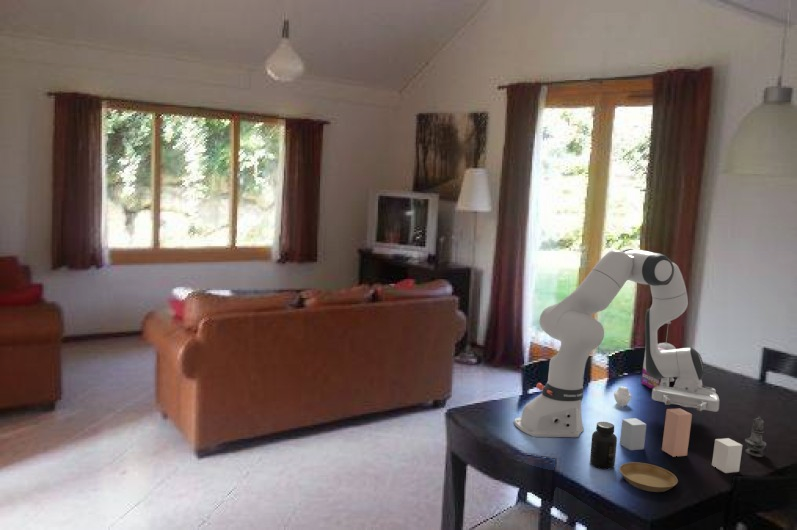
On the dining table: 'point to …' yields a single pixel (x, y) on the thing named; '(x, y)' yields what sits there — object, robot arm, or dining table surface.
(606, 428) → the supplement bottle
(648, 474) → the plant saucer
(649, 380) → the candy bar box
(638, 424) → the grey-blue block
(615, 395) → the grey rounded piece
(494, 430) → the dining table surface
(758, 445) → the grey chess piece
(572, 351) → the robot arm
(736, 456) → the off-white block
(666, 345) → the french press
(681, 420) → the coral block
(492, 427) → the dining table surface
